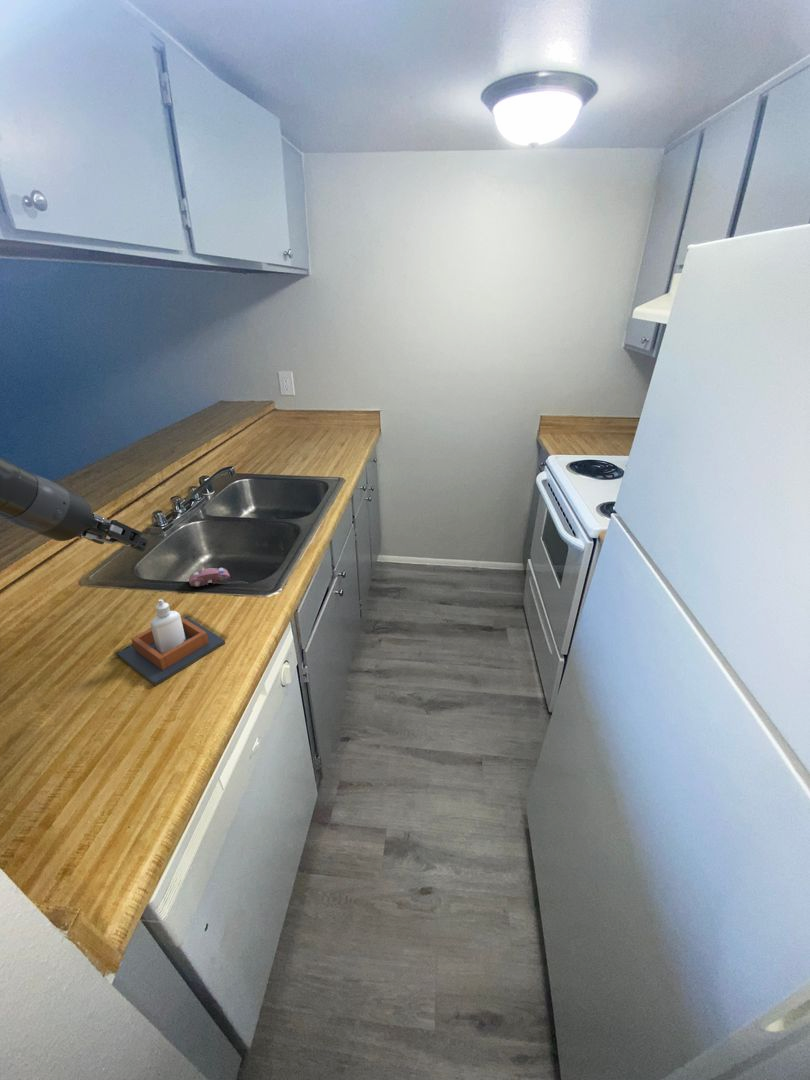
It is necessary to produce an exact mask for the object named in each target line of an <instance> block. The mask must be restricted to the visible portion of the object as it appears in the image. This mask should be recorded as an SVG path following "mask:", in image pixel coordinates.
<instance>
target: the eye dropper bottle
mask: <svg viewBox="0 0 810 1080" xmlns="http://www.w3.org/2000/svg"><path fill="white" fill-rule="evenodd" d="M155 611H156V614H157V615H155V617H154V618H152V619H151V620H150V628H151V629H152V633H153V637H154V641H155V644H156V648H157V651H158V652H159V653H161V654H164V653H165V652H167V651H169V650H171V649H172V648H174V647H176V646H178V645H179V644H181V643H183V642H185V641H186V638H185V634H184V629H183V625H182V621H181V617H182V616H181V614H180V613H179V612H178V611H176V610H171V608H170V604H169V603H168V602H165V601H164V599H162V598H160V599H158V604H156V605H155ZM180 616H181V617H180Z"/></svg>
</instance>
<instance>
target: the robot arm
mask: <svg viewBox="0 0 810 1080" xmlns="http://www.w3.org/2000/svg"><path fill="white" fill-rule="evenodd" d="M0 518H1V519H3V520H5V521H7V522H9V523H11V524H13V525H14V526H17V527H20V528H22V529H24V530H27V531H30V532H32V533H36V534H38V535H39V536H43V537H46V538H49V539H51V540H54V541H57V542H67V541H71V540H73V539H75V538H77V539H86V540H88V541H90V542H93V543H95V544H98V545H104V544H105V543H106V544H108V545H109V544H110V545H112V544H115V543H116V544H120V545H123V546H124V547H127V548H128V547H130V548H131V549H133V550H135V551H138V552H145V551H146V548H147V546H148V543H149V541H148V539H146V538H144V537H142V536H143V532H142V531H140V530H137V529H135V528H133V527H131V526H129V525H127V524H125V523H122V522H120V521H119V520H117V519H111V520H110V519H107V518H104V516H103V515H100V514H97V513H94V512H92V507H91V504H90V501H88V499H86V497H84V496H82V495H80V494H78V493H76V492H74V491H72V490H70V489H69V488H66V487H64V486H63V485H60V484H58V483H56V482H55V481H53V480H51V479H49V478H46V477H44V476H41V475H38V474H36V473H32V472H31V471H29V470H28V469H25V468H23V467H21V466H19V465H17V464H15V463H13V462H11V461H9V460H8V459H6V458H4V457H2V456H0ZM107 537H108V538H107Z"/></svg>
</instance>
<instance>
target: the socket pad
mask: <svg viewBox="0 0 810 1080" xmlns="http://www.w3.org/2000/svg"><path fill="white" fill-rule="evenodd" d="M180 617H181V621H182V625H183V629H184V634H185V638H186V641H185V642H183V643H181V644H179V645H178V646H176V647H174V648H172V649H171V650H169V651H167V652H165V653H164V654H161V653H159V652H158V651H157V648H156V644H155V641H154V637H153V633H152V629H151V627H150V628H149V629H148V628H147V629H146V630H145V631H142V632H141V633H139V634H137V635H134V636H133V637H131V638H130V640H131V643H132V644H131V645H130V646H128V647H126V648H124V649H122V650H120V651H118V652H117V653H116V655H117V658H118V659H120V660H121V661H122V662H123V663H125V664H126V665H127V666H129V667H130V668H131V669H132V670H134V671H135V672H136V673H138V674H139V675H140V676H141V677H143V678H144V679H145V680H147V681H148V682H149V683H150V684H151V685H153V686H154V687H157V686H158V685H161V684H162V683H164V682H165V681H167V680H168V679H170V678H172V677H173V676H175V675H176V674H178V673H180V672H182V671H183V670H184V669H186V668H188V667H189V666H191V665H193V664H194V663H196V662H198V661H199V660H201V659H202V658H204V657H205V656H207V655H209V654H210V653H212V652H214V651H215V650H217V649H219V648H220V647H222V646H223V645H225V644H226V640H225V639H224V638H222V637H221V636H219V635H218V634H216V633H214V632H213V631H212V630H209V629H208V628H206V627H204V626H203V625H201V624H200V623H198V622H197V621H195V620H193V619H192V618H190V617H188V616H185V617H183V616H182V615H180Z"/></svg>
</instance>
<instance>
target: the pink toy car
mask: <svg viewBox="0 0 810 1080" xmlns="http://www.w3.org/2000/svg"><path fill="white" fill-rule="evenodd" d="M230 577H231V575H230V573H229V571H228V570H227V569H226V568H224V567H219V568H218V567H217V568H215V567H213V568H212V567H207V568H204V569H202V570H199V571H194V572H193V573H191V574H190V576H189V578H188V584H189V585H190V587H196V588H197V587H202V586H208V585H209V581H211V584H212V585H215V584H220V583H225V582H226V581H229V580H230Z"/></svg>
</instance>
